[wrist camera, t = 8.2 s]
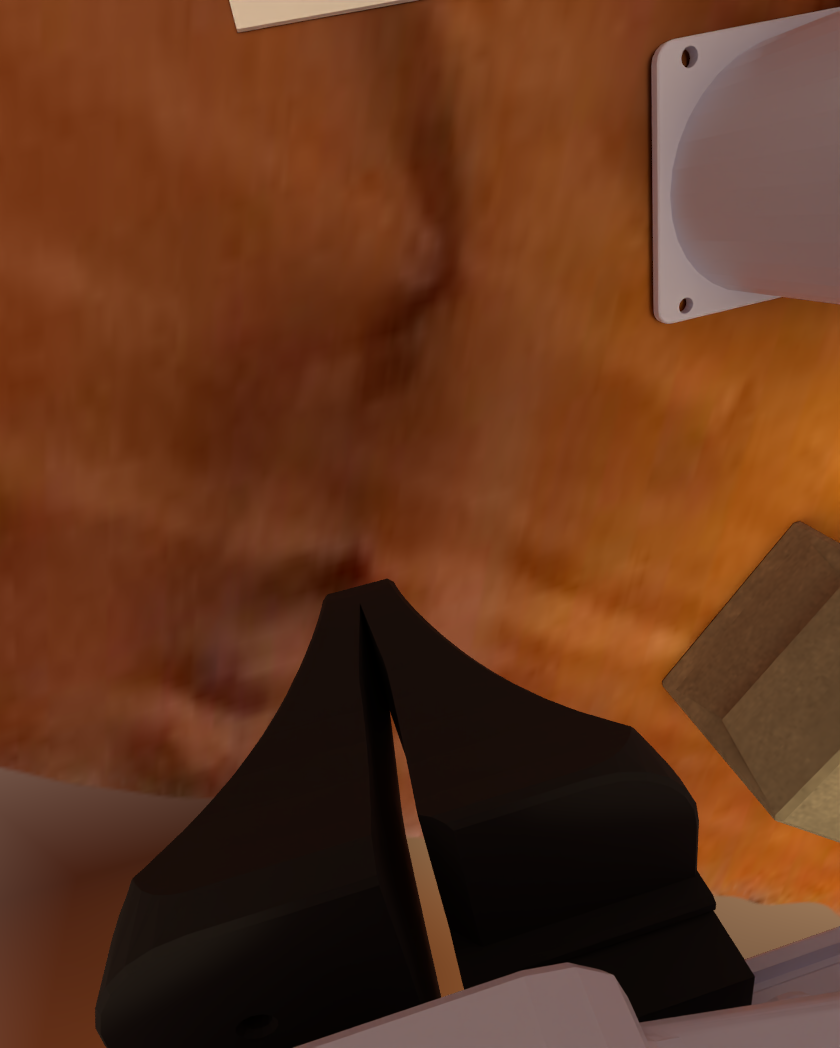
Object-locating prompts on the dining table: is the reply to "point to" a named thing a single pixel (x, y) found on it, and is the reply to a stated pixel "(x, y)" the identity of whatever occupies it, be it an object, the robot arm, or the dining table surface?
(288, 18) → the beige mat
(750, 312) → the dining table surface
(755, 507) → the dining table surface
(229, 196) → the dining table surface
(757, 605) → the tissue box
